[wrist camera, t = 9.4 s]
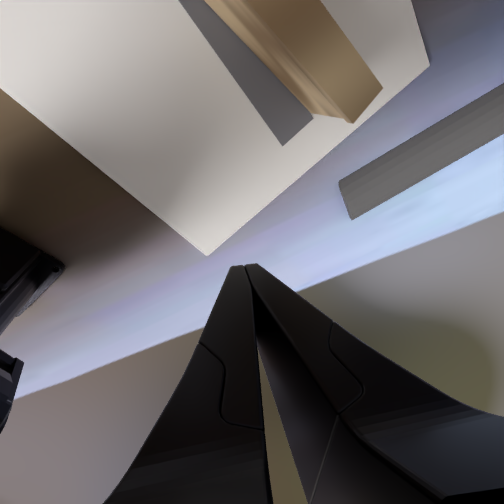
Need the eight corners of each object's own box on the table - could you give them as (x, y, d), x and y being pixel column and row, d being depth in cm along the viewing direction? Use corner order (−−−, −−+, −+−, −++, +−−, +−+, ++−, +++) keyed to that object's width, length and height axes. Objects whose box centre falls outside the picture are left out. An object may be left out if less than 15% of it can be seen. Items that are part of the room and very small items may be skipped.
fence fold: (329, 89, 16) (383, 88, 11) (309, 115, 17) (353, 124, 12) (209, -51, 12) (218, -142, 7) (188, -11, 13) (185, -71, 8)
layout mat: (206, 253, 21) (207, 257, 21) (-67, 29, 12) (-77, 26, 12) (425, 66, 17) (431, 65, 17) (254, -499, 8) (258, -533, 7)
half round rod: (566, 93, 20) (595, 94, 19) (345, 220, 23) (356, 229, 21) (577, 32, 18) (611, 27, 17) (330, 180, 21) (341, 187, 19)
